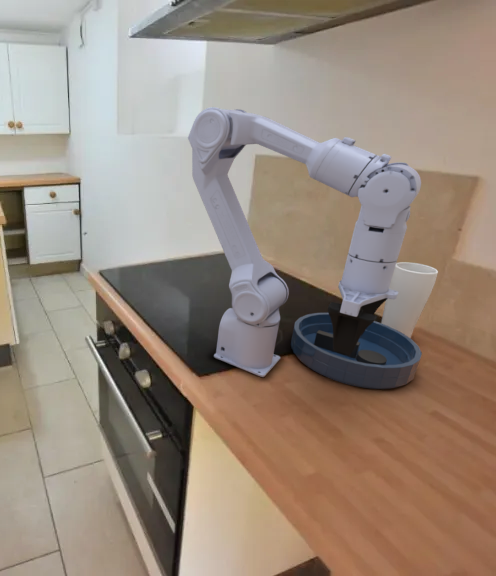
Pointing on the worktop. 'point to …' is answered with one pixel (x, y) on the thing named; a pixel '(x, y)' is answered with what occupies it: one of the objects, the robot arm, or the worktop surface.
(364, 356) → the ladle
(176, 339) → the worktop surface
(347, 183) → the robot arm
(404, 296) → the drinking glass
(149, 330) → the worktop surface
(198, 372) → the worktop surface
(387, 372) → the bowl
